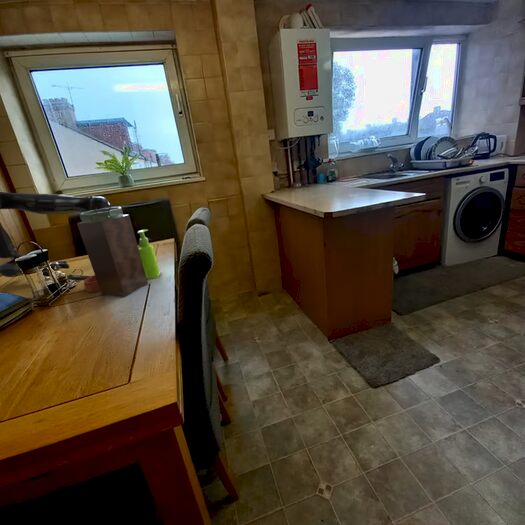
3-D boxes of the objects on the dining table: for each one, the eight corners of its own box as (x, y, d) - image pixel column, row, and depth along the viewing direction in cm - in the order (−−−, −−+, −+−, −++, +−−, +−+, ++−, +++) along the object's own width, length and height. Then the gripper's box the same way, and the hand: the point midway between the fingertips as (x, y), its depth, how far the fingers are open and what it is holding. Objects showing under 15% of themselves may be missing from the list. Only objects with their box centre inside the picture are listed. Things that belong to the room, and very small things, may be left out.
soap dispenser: (163, 271, 123) (152, 227, 116) (156, 278, 116) (144, 232, 109) (151, 272, 124) (139, 229, 116) (143, 279, 117) (130, 233, 110)
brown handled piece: (81, 279, 125) (78, 271, 123) (116, 282, 117) (113, 273, 115) (61, 288, 117) (58, 279, 115) (97, 292, 109) (94, 282, 107)
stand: (125, 280, 118) (103, 207, 107) (149, 282, 113) (128, 206, 102) (99, 295, 106) (71, 215, 95) (125, 297, 102) (98, 213, 91)
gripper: (14, 266, 119) (38, 268, 113) (47, 255, 131) (71, 256, 125) (21, 282, 122) (45, 284, 116) (53, 270, 134) (76, 271, 128)
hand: (58, 269), depth 121 cm, fingers open, 8 cm apart
